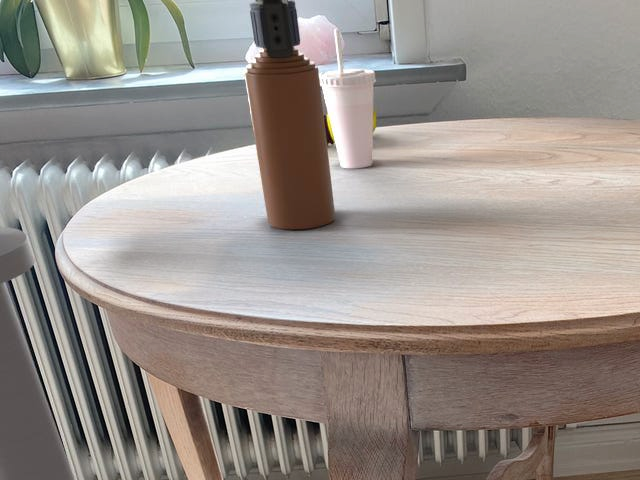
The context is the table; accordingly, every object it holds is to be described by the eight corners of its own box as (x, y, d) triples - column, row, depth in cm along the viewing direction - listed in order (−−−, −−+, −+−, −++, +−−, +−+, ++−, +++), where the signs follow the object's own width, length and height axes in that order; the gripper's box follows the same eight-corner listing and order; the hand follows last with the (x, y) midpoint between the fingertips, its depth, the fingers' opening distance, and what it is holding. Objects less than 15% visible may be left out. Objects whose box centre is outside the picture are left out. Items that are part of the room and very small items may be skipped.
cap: (300, 46, 75) (294, 2, 73) (254, 48, 75) (247, 4, 73) (300, 41, 78) (295, -1, 76) (256, 43, 78) (250, 1, 76)
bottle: (265, 231, 82) (231, 14, 72) (270, 212, 87) (238, 8, 77) (335, 227, 82) (310, 11, 72) (335, 208, 88) (312, 5, 78)
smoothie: (321, 163, 105) (303, 29, 97) (371, 156, 107) (358, 24, 99) (340, 174, 100) (323, 33, 92) (392, 165, 102) (380, 28, 94)
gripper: (292, -213, 62) (326, 62, 71) (295, -192, 73) (324, 43, 83) (183, -210, 61) (231, 67, 71) (203, -189, 72) (243, 47, 82)
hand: (281, 53), depth 77 cm, fingers closed on cap, 3 cm apart
